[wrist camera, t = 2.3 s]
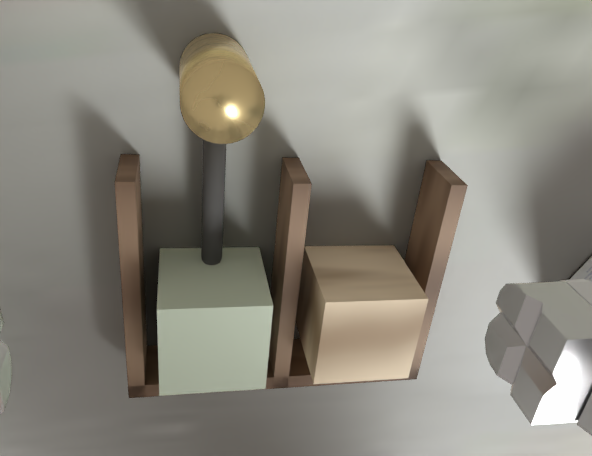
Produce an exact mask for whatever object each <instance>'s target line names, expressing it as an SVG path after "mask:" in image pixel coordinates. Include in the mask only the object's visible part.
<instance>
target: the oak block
mask: <svg viewBox="0 0 592 456" xmlns="http://www.w3.org/2000/svg"><path fill="white" fill-rule="evenodd" d="M427 303H428V297H427V296H426V294H425V293H424V291H423V290H422V288H421V286H420V285H419V283H418V282H417V280H416V279H415V277H414V276H413V274H412V272H411V271H410V269H409V268H408V266H407V265H406V263H405V262H404V260H403V259H402V257H401V255H400V254H399V252H398V251H397V249H396V248H395V246H394V245H364V246H304V253H303V262H302V270H301V278H300V287H299V295H298V304H297V312H296V321H295V322H296V326H297V329H298V332H299V336H300V339H301V343H302V346H303V350H304V353H305V357H306V360H307V364H308V367H309V371H310V374H311V378H312V381H313V384H327V383H342V382H357V381H373V380H388V379H403V378H408V377H409V373H410V369H411V366H412V362H413V358H414V354H415V350H416V346H417V342H418V338H419V334H420V330H421V327H422V323H423V319H424V315H425V311H426V307H427Z"/></svg>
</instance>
